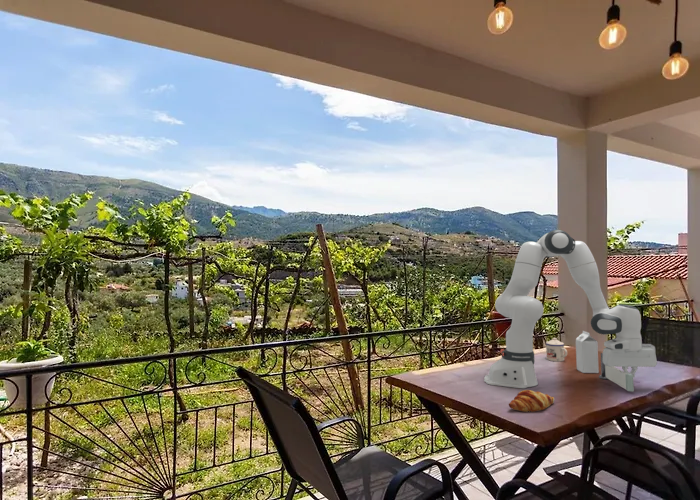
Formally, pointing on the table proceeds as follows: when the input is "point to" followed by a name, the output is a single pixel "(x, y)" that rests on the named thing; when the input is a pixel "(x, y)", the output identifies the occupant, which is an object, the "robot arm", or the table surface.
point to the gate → (620, 377)
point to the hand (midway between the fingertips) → (629, 377)
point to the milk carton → (587, 353)
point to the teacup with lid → (555, 350)
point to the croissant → (531, 401)
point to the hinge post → (602, 369)
